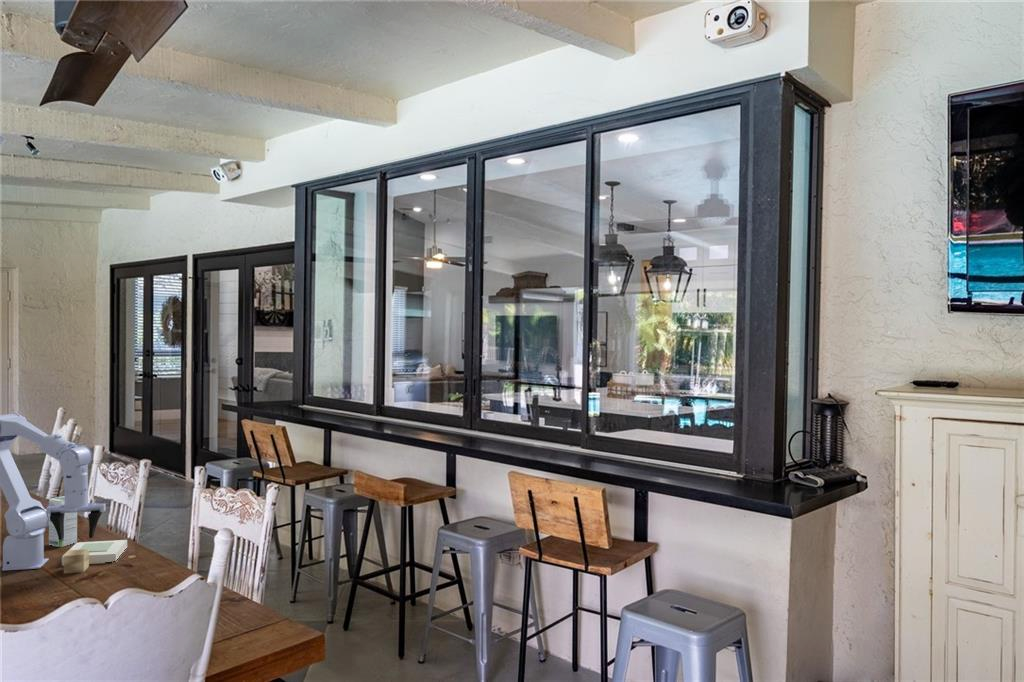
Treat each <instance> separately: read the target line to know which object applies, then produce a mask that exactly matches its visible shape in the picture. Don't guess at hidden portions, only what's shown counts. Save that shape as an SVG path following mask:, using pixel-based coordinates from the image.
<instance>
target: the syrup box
mask: <svg viewBox="0 0 1024 682" xmlns="http://www.w3.org/2000/svg"><path fill="white" fill-rule="evenodd" d="M64 504H65V497H64V495H63V496H56V497H52V498H50V499H48V506H55V505H64ZM49 515H50V516H51V514H49ZM77 542H78V512H75V513H65V515H64V538H63V539H62V540H59V538H58V534H57V531H56V529H55V527H54V525H53V523H52V522H51V520H50V523H49V525H48V546H50V545H52V547H56V548H57V547H58V548H63V547H67V545H68V546H70V544H71V545H73V543H74V544H76V543H77Z"/></svg>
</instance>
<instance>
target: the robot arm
mask: <svg viewBox="0 0 1024 682" xmlns="http://www.w3.org/2000/svg"><path fill="white" fill-rule="evenodd" d="M19 437H21V438H23V439H25V440H28V441H29V442H31V443H34V444H36V445H38V446H40V450H41V452H42V453H44V454H46V455H48V456H49V457H51V458H52V459H54V460H57V461H58V464H59V465H60V467H61V469H62V474H63V476H64V477H63V478H64V490H63V491H64V495H63V496H64V497H65V504H64V505H55V506H49V505H47V507H46V508H45V507H44V506H43V504H42V502H41V501H39V500H37V499H35V498H33V497H31V495H30V492H29V491H28V489H27V486H26V484H25V482H24V479H23V477H22V475H21V473H20V471H19V469H18V467H17V463H15V462H16V461H15V460H14V457H13V454H12V453H11V451H10V447H11V445H12V444H13V443H14V442H15V440H16V439H17V438H19ZM92 460H93V452H92V450H91V449H90V448H89V447H88V446H87V445H84V444H82V445H77V444H76V443H74V442H73V441H72V442H71V441H69V440H67V439H65V438H64V437H63V435H62V434H60V433H57V434H56V433H53V434H47V433H46V432H44V431H43V430H41V429H40V428H38V427H37V426H35V425H33V424H32V423H31V422H29V421H27V418H26V417H25V416H23V415H21V414H20V413H17V412H11V413H8V414H0V488H1V491H2V493H3V495H4V498H5V499H6V502H7V504H8V506H9V507H8V509H7V510H6V512H5V514H4V515H3V516H4V519H5V522H6V525H5V526H6V530H7V532H8V534H9V535H7V536H6V537H5V538H4V540H3V544H2V569H1V571H2V572H3V571H17V570H18V571H19V570H33V569H35V570H36V569H37V570H38V569H40V568H42V567H43V566H44V565H45V564H46V563H47V562H48V561H49V559H50V558H49V557H47V558H44V557H45V555H44V554H45V551H44V549H45V547H44V546H45V545H44V541H45V540H44V539H45V538H44V535H45V534H44V532H46V528H47V527H49V523H50V520H51V522H52V523H53V525H54V527H55V529H56V531H57V534H58V538H59V540H62V539H63V538H64V515H65V513H75V512H77V513H88V515H87V518H88V519H87V520H88V525H89V529H88V538H89V539H93V537H95V531H96V527H97V524H98V521H99V519H100V518H101V515H102V513H104V512H105V511H106V510H107V509H106V508H107V507H106V506H107V505H106V504H107V503H106V502H105V503H104V502H103V503H95V502H94V503H93V502H92V503H91V502H89V480H88V479H89V469H88V468H89V467H88V466H89V464H91V462H93V461H92ZM49 514H51V516H50V515H49Z"/></svg>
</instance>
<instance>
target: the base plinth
mask: <svg viewBox="0 0 1024 682" xmlns="http://www.w3.org/2000/svg"><path fill="white" fill-rule="evenodd" d="M126 548H128V539H120V540H119V539H116V540H100V541H98V540H97V541H82V542H81V541H80V542H78V541H77V543H74V545H73V546H71V547H70V549H69V550H84V549H89V565H93V564H96V565H97V564H106V563H105V562H111V561H116V560H117V559H118V558H119V556H120V555H121V554H122V553H123V552H124V553H125V551H126V550H127V549H126ZM125 549H126V550H125ZM69 550H67V551H66V552H65V553H64V554H63V555H62V556H61V566H63V567H64V555H65V554H66V553H67V552H68V551H69ZM124 550H125V551H124ZM124 553H123V554H124ZM123 554H122V555H123ZM122 555H121V556H122ZM121 556H120V557H121ZM119 559H120V558H119ZM119 559H118V560H119ZM118 560H117V561H118ZM117 561H116V562H117Z"/></svg>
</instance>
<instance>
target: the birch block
mask: <svg viewBox="0 0 1024 682" xmlns="http://www.w3.org/2000/svg"><path fill="white" fill-rule="evenodd" d="M67 551H68V550H67ZM67 551H66V552H67ZM66 552H65V553H66ZM65 553H64V554H65ZM64 554H63V555H64ZM89 567H90V564H89V549H84V550H70V549H69V551H68V552H67V553H66V554H65V555H64V565H63V574H74V573H77V574H78V573H84V572H85V571H86V570H87V569H88V568H89Z"/></svg>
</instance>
